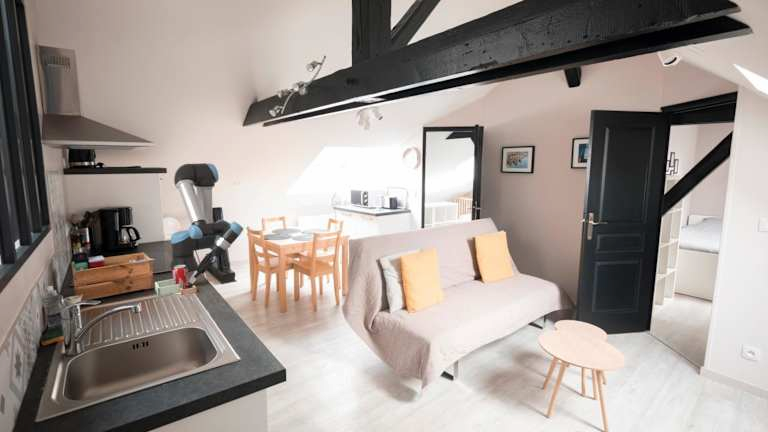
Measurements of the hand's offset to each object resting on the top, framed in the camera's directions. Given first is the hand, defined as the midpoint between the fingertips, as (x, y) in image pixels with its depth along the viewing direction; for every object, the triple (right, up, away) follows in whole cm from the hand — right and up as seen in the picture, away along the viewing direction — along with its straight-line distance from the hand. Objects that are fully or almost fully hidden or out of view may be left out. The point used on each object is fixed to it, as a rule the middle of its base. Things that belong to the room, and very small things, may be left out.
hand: (190, 282), depth 202 cm
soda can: (-4, -3, -1) cm, 5 cm away
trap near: (+3, -4, -7) cm, 9 cm away
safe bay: (-9, -3, -5) cm, 11 cm away
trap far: (-8, -2, +7) cm, 11 cm away
